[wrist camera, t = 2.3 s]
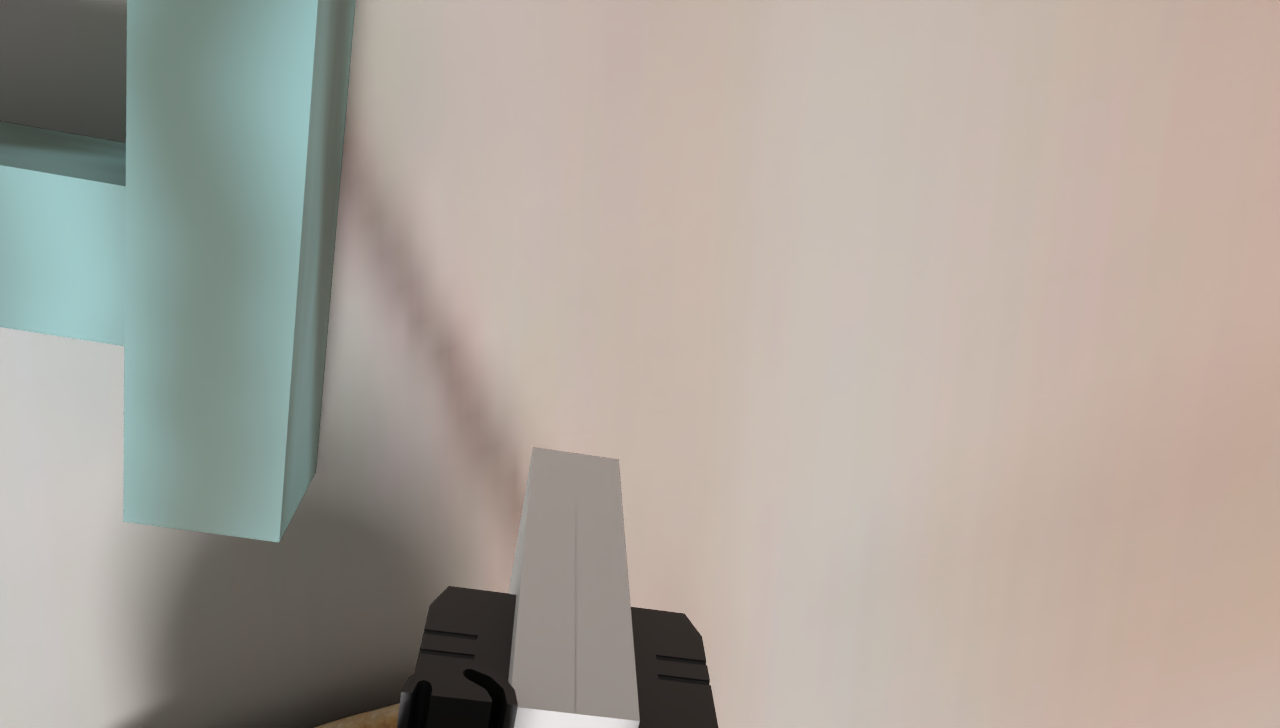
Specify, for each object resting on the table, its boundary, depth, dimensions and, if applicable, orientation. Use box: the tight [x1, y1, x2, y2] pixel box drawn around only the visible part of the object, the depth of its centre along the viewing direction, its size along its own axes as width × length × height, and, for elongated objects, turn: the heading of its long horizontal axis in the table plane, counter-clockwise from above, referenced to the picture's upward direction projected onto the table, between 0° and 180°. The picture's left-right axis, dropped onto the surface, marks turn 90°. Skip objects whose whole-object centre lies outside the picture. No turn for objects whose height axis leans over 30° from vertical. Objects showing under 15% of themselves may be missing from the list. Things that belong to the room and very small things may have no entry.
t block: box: [0, 0, 355, 542], centre depth 26 cm, size 14×14×4 cm
